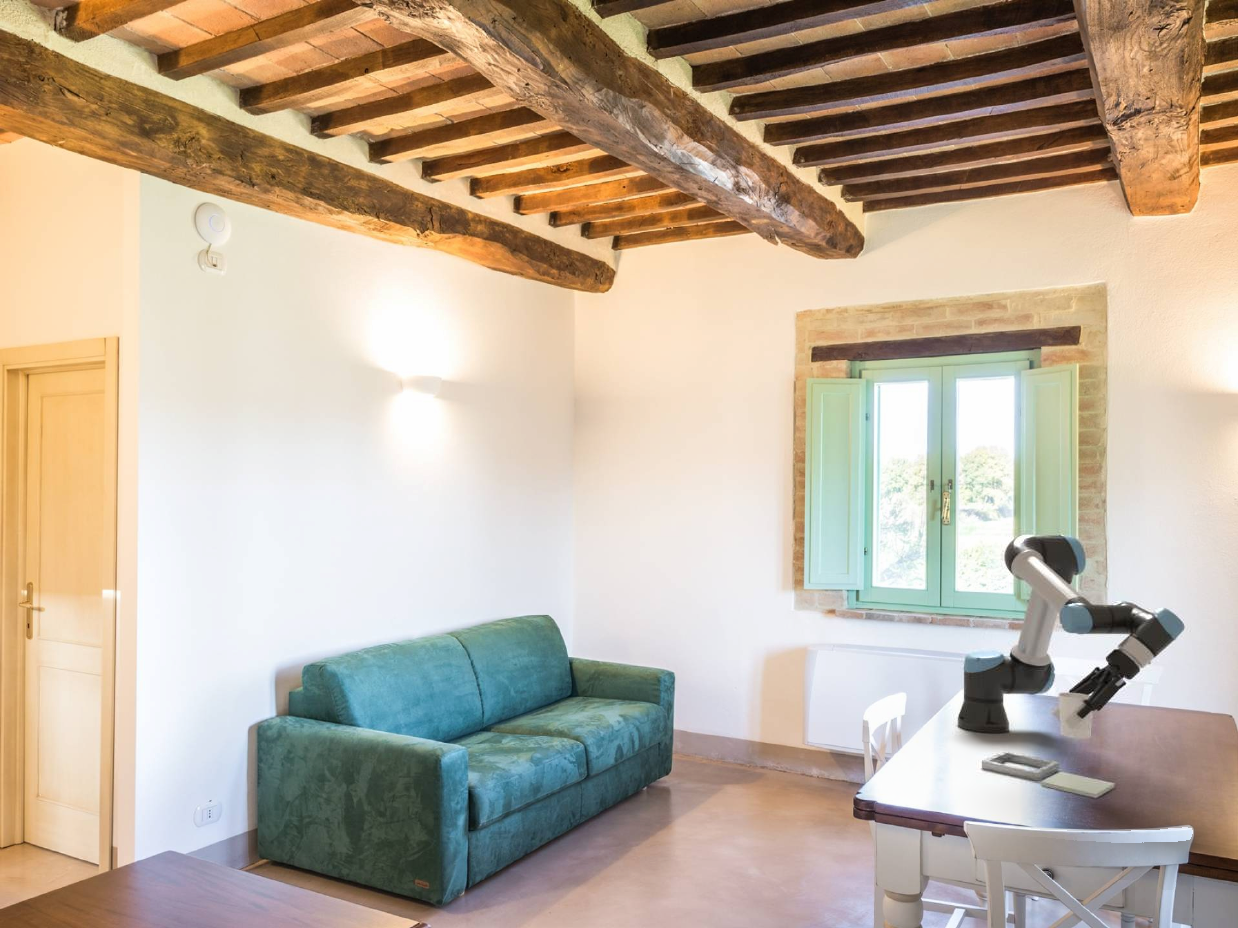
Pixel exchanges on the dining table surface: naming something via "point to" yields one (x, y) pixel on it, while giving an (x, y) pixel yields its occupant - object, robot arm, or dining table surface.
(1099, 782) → the sage tile
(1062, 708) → the white cup
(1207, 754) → the dining table surface
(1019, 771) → the square frame
